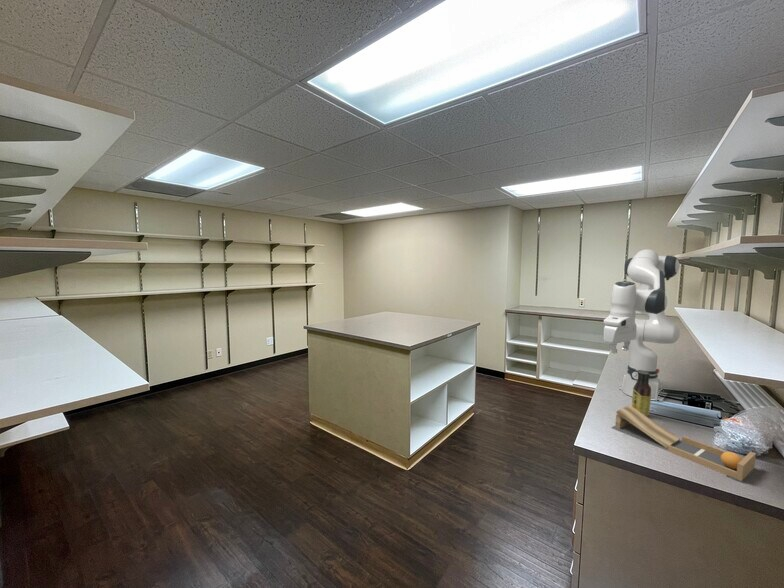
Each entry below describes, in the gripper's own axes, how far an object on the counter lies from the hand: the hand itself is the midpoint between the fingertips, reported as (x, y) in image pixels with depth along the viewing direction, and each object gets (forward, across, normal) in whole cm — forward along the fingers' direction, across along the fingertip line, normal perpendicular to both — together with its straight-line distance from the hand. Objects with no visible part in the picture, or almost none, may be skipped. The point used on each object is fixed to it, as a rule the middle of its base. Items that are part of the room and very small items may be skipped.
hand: (619, 351), depth 137 cm
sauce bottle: (+29, -11, +5) cm, 32 cm away
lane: (+29, +6, +23) cm, 37 cm away
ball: (+27, +6, +35) cm, 44 cm away
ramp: (+29, +6, +14) cm, 32 cm away
